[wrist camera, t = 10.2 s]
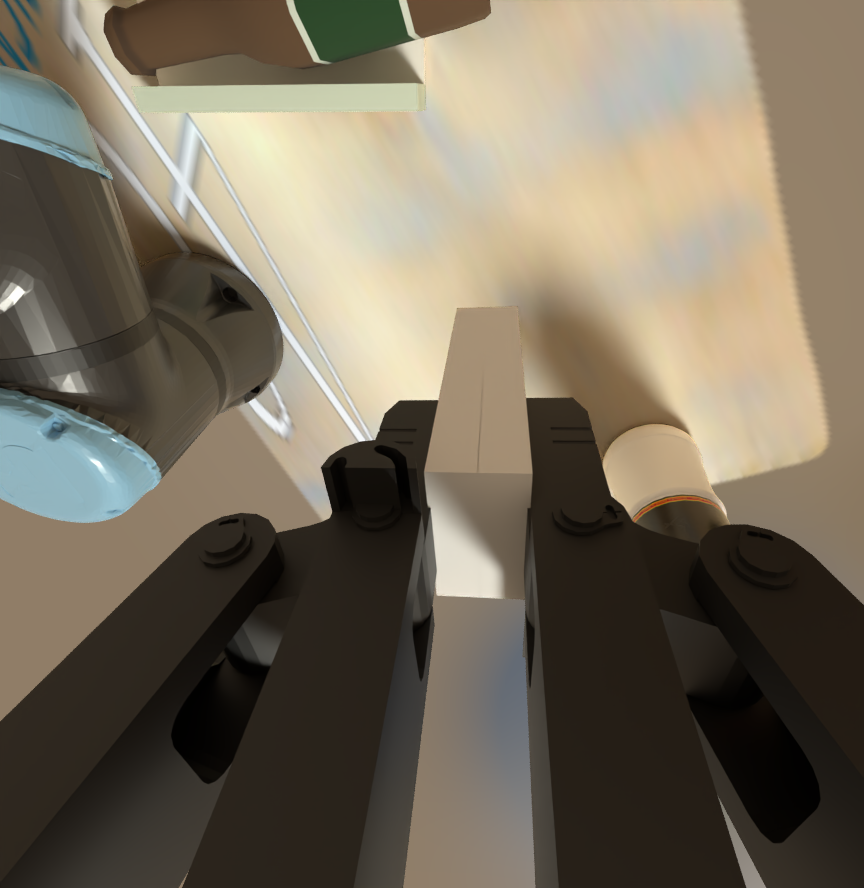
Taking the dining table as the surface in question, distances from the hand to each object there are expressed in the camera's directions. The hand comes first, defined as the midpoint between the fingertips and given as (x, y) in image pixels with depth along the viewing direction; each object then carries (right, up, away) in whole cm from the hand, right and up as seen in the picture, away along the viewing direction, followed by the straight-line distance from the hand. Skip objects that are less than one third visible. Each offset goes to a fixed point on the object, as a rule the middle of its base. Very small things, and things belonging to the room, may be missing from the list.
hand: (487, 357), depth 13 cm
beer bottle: (+2, +26, +14) cm, 30 cm away
